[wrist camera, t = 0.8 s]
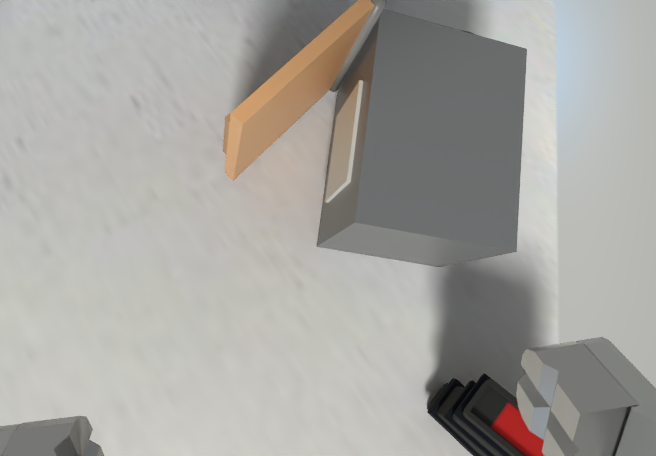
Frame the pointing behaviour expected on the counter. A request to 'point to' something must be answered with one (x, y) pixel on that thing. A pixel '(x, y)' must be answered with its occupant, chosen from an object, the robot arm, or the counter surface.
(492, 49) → the camera box
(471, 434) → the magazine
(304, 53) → the side door
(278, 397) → the counter surface
